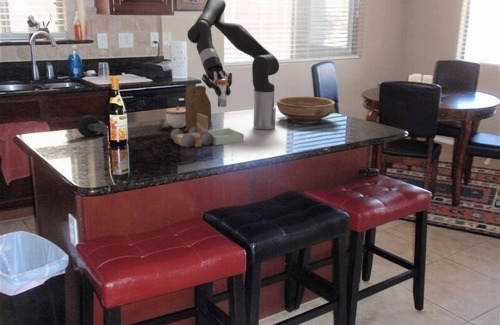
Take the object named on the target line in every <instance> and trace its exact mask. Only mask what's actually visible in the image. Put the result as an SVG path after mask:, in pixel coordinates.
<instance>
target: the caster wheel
mask: <svg viewBox="0 0 500 325" xmlns="http://www.w3.org/2000/svg"><path fill="white" fill-rule="evenodd" d="M107 127H108V126H107V125H106V123H105V121H104V122H103V121H102V120H99V119H98V118H97V117H95V116H93V115H90V114H87V115H84V116H81V118H79V120H78V122H77V130H78V133H79V134H80V135H82V136H83V137H85V138H93V137H96V136H97V134H99V133H100V134H99V135H101V134H103V135H104V136H106V135H107V133H108V132H109V129H108V128H107ZM103 135H102V136H103ZM92 136H93V137H92Z"/></svg>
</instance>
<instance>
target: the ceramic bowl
mask: <svg viewBox="0 0 500 325" xmlns="http://www.w3.org/2000/svg"><path fill="white" fill-rule="evenodd" d="M276 102H277V104H276V105H277V109H278V111H279V113H281V114H282V115H283V116H285V117H287V118H290V119H291V121H292V122H293V123H297V124H315V123H318V122H319V120H321V119H325V118H327V117H329V116H330V115H331V114H333V113H335V112H336V108H335V104H336V102H335V101H334V100H332V99H328V98H324V97H318V96H303V95H301V96H299V95H298V96H287V97H286V96H285V97H281V98H278V99H277V100H276Z"/></svg>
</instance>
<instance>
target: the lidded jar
mask: <svg viewBox="0 0 500 325" xmlns="http://www.w3.org/2000/svg"><path fill="white" fill-rule="evenodd" d="M185 112H186V109H185V108H184V107H179V105H178V106H176V107H172V108H167V109H166V110H165V114H166V116H165V117H166V120H167V123H168V124H169V125H170V127H171V128H173V129H180V128H184V127H186V120H185Z"/></svg>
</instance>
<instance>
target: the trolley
mask: <svg viewBox="0 0 500 325" xmlns="http://www.w3.org/2000/svg"><path fill="white" fill-rule="evenodd" d="M170 138H171V139H172V140H173V143H175V144H177V145H179V146H181V147H182V148H184V147H186V148H192V147H193V146H194V147H195V148H196V147H197V148H198V147H202V146H203V145H205V146H208V145H210V144H213V143H212V141H213V136H212V134H210V133H208V117H207V116H205V115H202V114H200V113H198V114H197V127H191V128H190V129H189V130H188V132H187V133H184V131H183V130H182V129H180V128H173V130H171V133H170Z"/></svg>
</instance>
